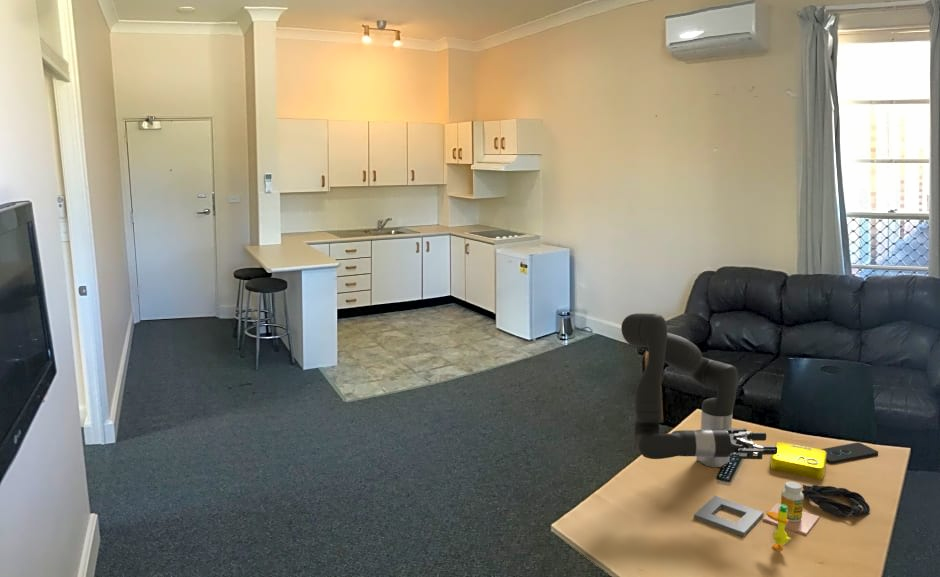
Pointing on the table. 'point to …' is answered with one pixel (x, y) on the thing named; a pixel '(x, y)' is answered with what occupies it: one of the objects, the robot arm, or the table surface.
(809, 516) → the terracotta tile
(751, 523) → the socket block
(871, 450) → the smart home device
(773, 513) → the toy figure
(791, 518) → the supplement bottle
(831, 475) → the table surface
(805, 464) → the element tile
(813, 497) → the cable
